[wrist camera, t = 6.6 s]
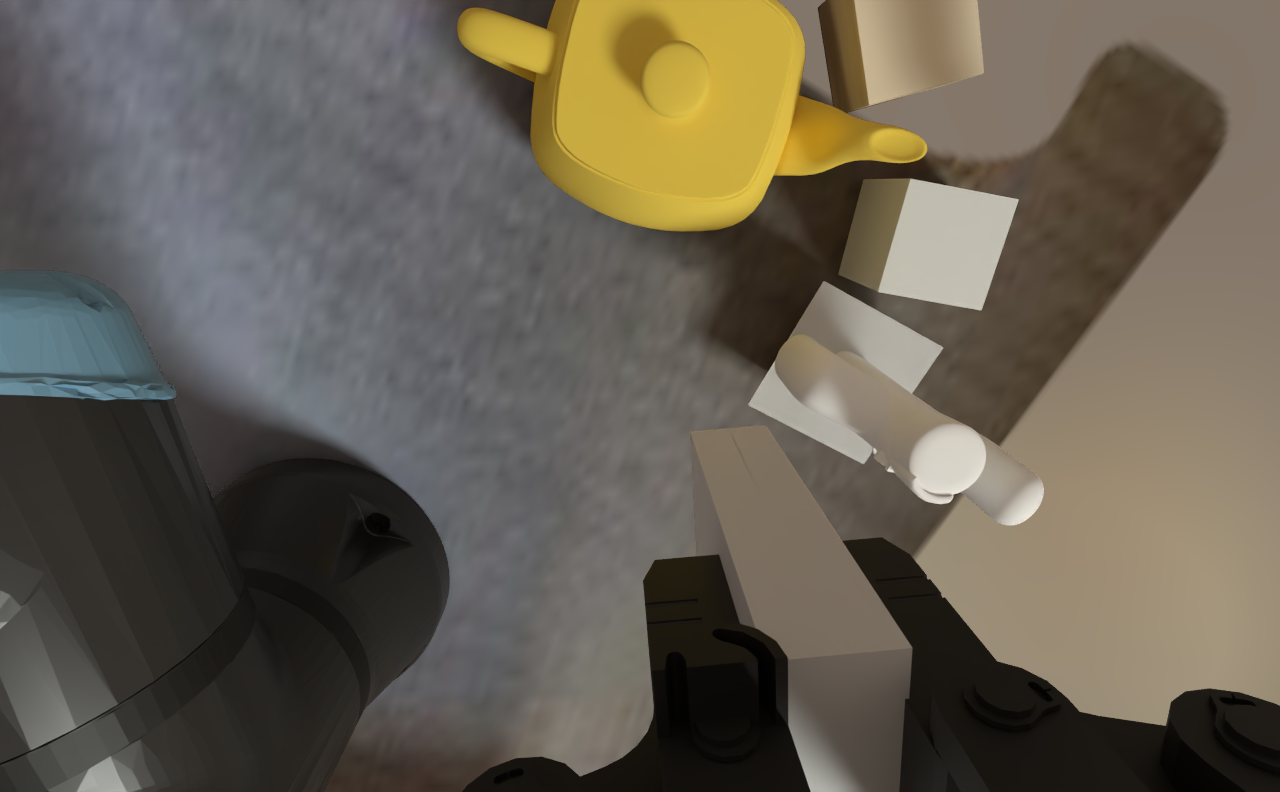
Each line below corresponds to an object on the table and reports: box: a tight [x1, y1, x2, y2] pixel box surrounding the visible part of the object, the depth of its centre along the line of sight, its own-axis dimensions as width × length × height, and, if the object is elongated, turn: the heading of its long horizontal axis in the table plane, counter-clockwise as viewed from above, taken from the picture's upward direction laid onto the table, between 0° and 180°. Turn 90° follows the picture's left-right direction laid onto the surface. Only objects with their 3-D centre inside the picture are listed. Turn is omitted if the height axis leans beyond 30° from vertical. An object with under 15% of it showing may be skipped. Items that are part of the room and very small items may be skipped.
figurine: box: [748, 281, 1044, 525], centre depth 30 cm, size 7×9×15 cm
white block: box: [838, 179, 1019, 310], centre depth 33 cm, size 5×5×6 cm
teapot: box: [457, 0, 927, 231], centre depth 28 cm, size 18×11×11 cm, turn 75°
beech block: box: [818, 0, 984, 113], centre depth 30 cm, size 5×5×5 cm
